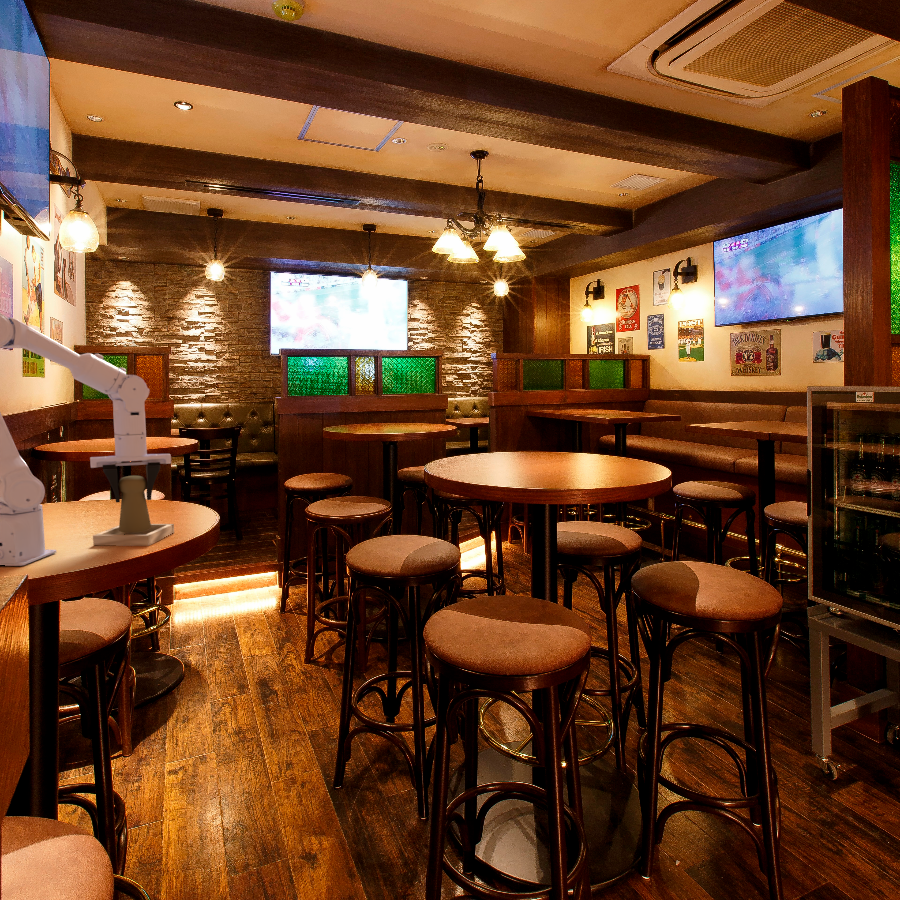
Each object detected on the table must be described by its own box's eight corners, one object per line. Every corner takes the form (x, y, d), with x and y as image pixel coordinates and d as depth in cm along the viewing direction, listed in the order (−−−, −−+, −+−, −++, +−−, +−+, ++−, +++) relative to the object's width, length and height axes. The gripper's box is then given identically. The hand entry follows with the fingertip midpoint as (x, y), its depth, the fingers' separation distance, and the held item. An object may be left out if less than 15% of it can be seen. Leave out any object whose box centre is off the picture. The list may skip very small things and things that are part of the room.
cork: (116, 533, 124) (113, 480, 122) (120, 525, 130) (117, 474, 128) (150, 531, 126) (147, 478, 125) (152, 523, 132) (149, 472, 130)
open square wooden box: (148, 545, 122) (148, 535, 122) (93, 545, 122) (92, 535, 122) (174, 533, 133) (173, 523, 133) (123, 532, 133) (123, 523, 133)
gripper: (167, 432, 132) (170, 494, 134) (89, 434, 125) (93, 500, 127) (170, 433, 126) (173, 499, 127) (88, 436, 119) (92, 506, 120)
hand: (133, 500), depth 127 cm, fingers closed on cork, 5 cm apart
